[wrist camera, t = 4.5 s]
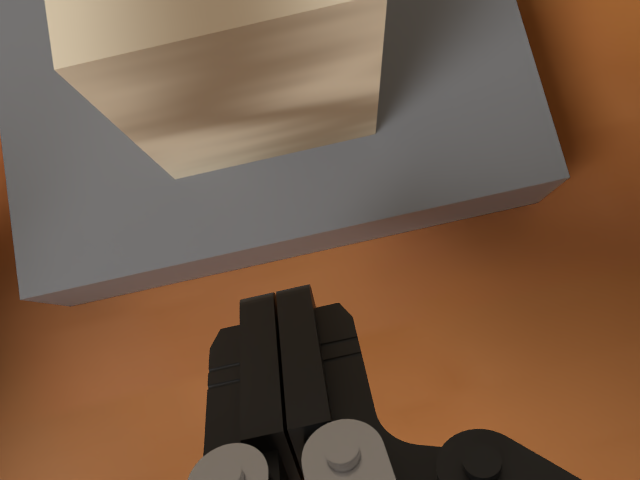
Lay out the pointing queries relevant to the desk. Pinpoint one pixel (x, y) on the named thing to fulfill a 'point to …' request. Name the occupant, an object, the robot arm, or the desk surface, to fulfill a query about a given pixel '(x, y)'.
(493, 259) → the desk surface
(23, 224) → the plate
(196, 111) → the birch block
